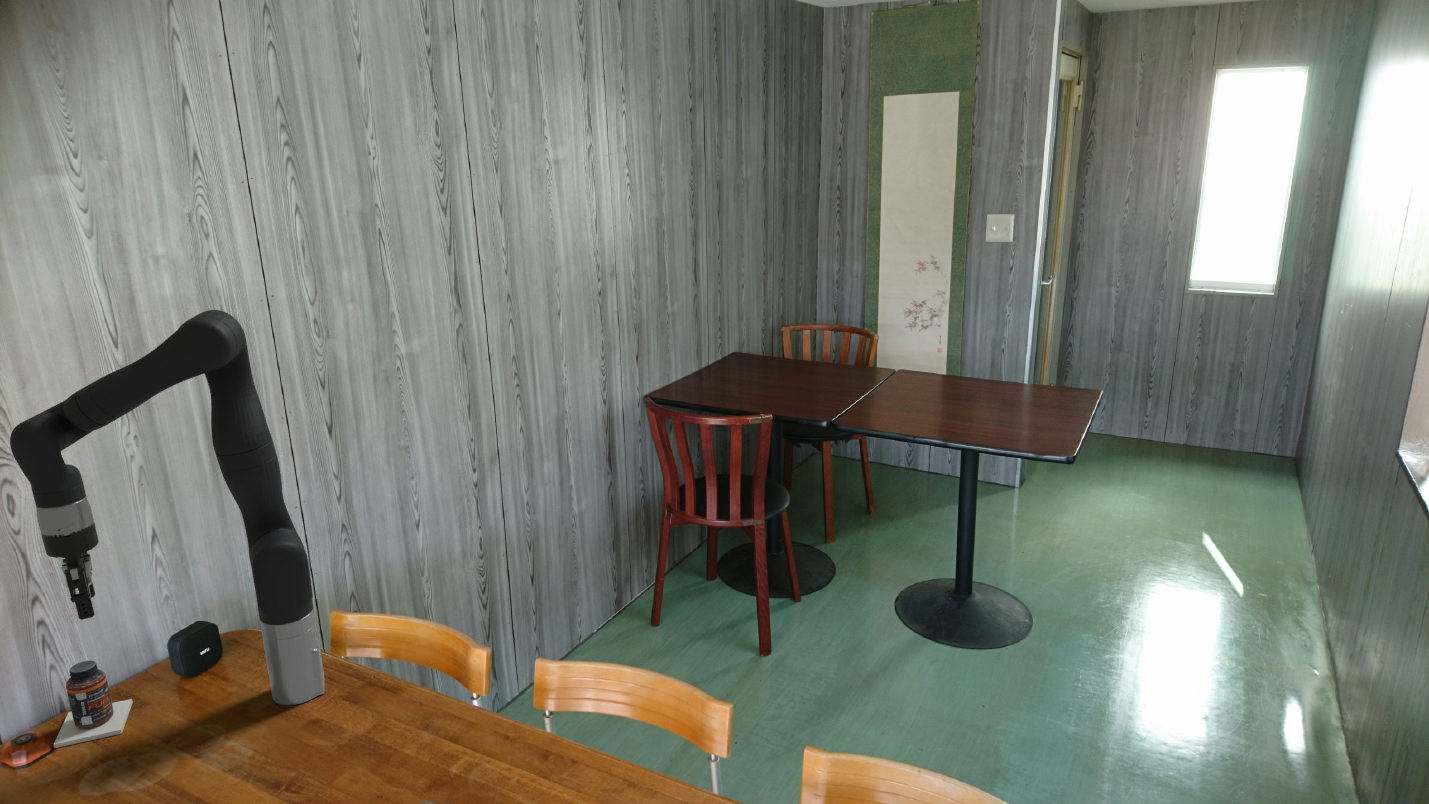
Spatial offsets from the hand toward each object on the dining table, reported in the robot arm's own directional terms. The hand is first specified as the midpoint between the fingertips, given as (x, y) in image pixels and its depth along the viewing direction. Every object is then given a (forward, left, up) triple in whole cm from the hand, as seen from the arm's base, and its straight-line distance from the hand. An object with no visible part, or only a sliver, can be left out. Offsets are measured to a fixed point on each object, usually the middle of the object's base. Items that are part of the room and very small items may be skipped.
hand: (87, 607), depth 152 cm
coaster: (+2, +2, -23) cm, 23 cm away
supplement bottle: (+2, +2, -22) cm, 22 cm away
